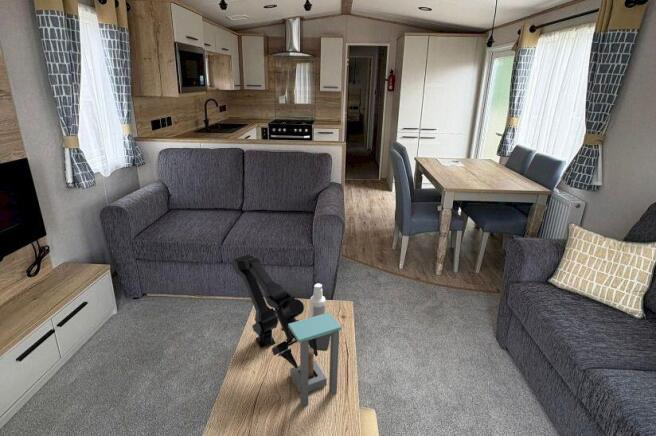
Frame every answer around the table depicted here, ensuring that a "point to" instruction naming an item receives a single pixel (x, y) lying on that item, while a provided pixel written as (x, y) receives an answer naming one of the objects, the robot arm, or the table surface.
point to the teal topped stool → (303, 333)
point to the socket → (313, 383)
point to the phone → (323, 342)
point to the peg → (311, 363)
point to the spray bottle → (317, 301)
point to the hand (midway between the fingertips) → (307, 361)
